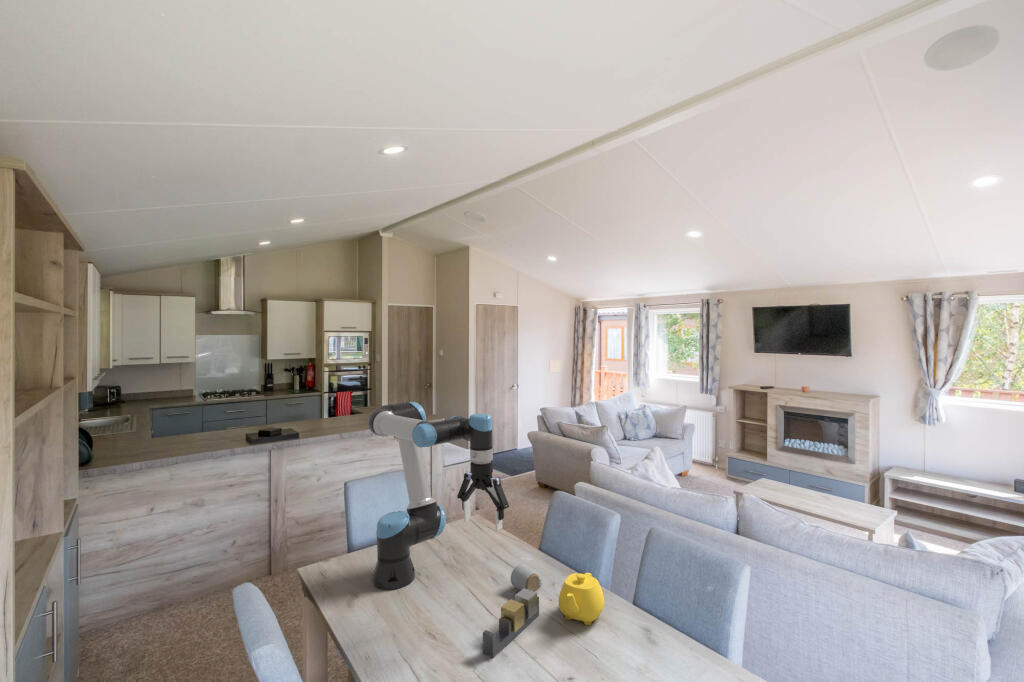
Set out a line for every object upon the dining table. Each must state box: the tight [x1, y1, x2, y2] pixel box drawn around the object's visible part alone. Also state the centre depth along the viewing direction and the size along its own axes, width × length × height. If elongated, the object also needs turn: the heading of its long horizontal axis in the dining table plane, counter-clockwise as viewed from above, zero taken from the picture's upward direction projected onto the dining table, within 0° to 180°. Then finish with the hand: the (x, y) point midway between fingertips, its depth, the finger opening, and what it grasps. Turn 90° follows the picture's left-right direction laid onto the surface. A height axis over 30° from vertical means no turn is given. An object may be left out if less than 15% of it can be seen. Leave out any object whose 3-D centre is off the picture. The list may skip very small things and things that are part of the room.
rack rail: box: [482, 595, 540, 659], centre depth 143 cm, size 4×24×6 cm, turn 144°
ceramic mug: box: [510, 563, 543, 592], centre depth 168 cm, size 11×8×8 cm
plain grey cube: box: [514, 588, 538, 619], centre depth 149 cm, size 5×5×6 cm
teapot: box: [558, 572, 605, 626], centre depth 151 cm, size 14×20×13 cm
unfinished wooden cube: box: [500, 598, 524, 632], centre depth 143 cm, size 5×5×6 cm
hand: (482, 524), depth 159 cm, fingers open, 13 cm apart
